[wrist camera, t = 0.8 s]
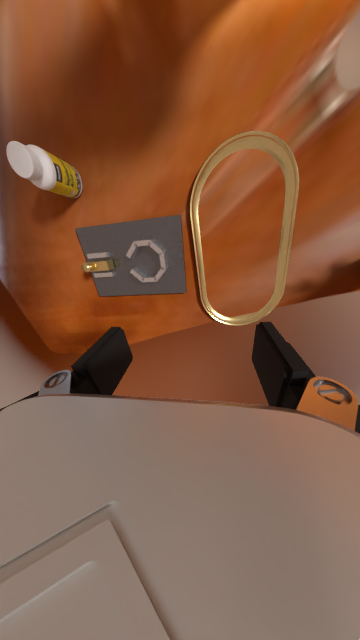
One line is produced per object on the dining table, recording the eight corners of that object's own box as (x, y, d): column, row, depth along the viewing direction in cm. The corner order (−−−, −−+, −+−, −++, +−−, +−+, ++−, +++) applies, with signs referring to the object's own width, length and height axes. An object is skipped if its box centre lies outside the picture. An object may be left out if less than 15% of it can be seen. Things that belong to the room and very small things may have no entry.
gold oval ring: (204, 325, 42) (204, 328, 41) (183, 157, 27) (181, 152, 25) (277, 319, 38) (280, 322, 37) (304, 116, 23) (310, 109, 21)
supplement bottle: (88, 194, 31) (44, 177, 22) (67, 202, 32) (18, 189, 24) (74, 158, 29) (19, 125, 20) (52, 169, 30) (-8, 142, 21)
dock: (78, 228, 34) (66, 228, 31) (181, 215, 30) (178, 213, 27) (101, 295, 42) (93, 299, 39) (186, 291, 38) (185, 296, 35)
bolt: (89, 261, 36) (77, 264, 33) (112, 259, 35) (102, 262, 32) (92, 270, 37) (81, 273, 34) (114, 268, 36) (105, 271, 33)
